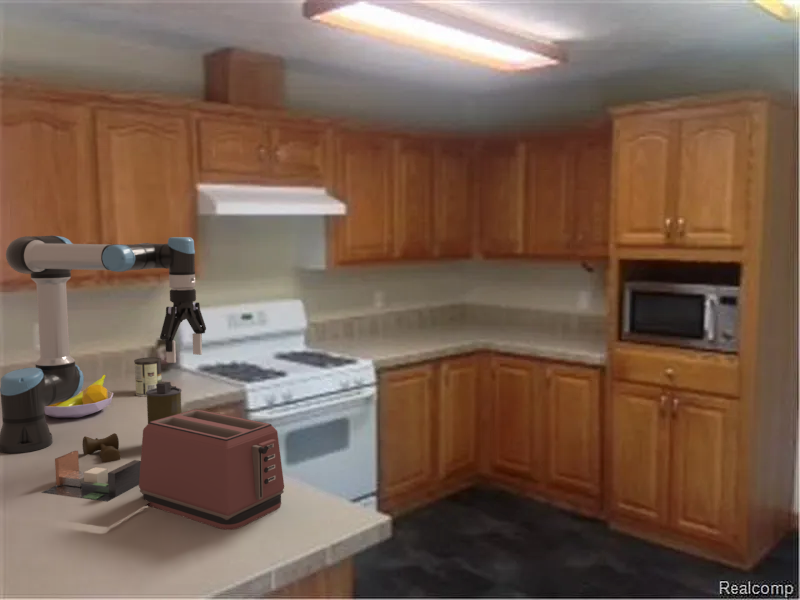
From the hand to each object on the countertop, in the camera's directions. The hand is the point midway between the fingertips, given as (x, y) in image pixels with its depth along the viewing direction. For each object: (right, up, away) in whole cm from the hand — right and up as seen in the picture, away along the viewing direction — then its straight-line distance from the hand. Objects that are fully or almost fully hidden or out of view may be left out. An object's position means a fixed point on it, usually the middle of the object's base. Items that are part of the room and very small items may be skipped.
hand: (184, 358), depth 214 cm
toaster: (+20, -33, -41) cm, 56 cm away
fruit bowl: (-52, -24, +44) cm, 72 cm away
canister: (-7, -28, +5) cm, 29 cm away
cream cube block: (-13, -30, -32) cm, 46 cm away
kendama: (-22, -29, -5) cm, 37 cm away
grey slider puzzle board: (-13, -31, -32) cm, 47 cm away
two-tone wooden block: (-19, -30, -30) cm, 47 cm away
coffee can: (-37, -21, +73) cm, 85 cm away
